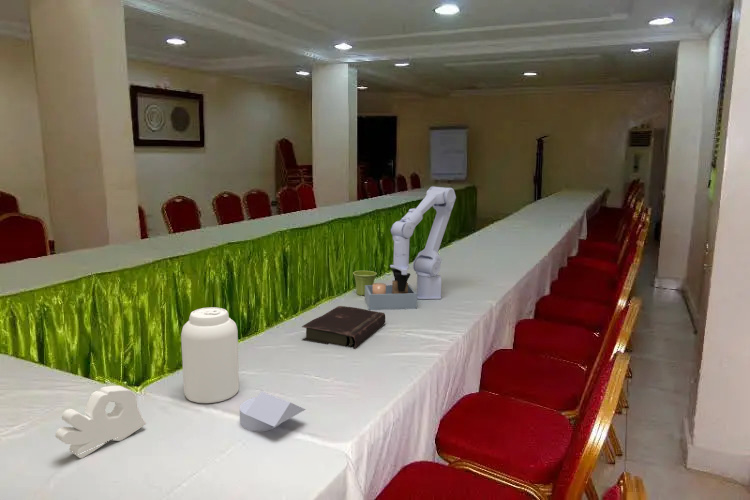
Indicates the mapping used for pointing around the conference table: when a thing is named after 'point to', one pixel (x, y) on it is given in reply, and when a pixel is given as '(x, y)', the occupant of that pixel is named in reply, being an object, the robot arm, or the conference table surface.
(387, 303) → the box
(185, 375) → the can
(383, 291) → the terracotta cylinder
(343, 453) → the conference table surface
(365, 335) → the diary
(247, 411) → the wedge on round base
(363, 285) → the plant pot
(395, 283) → the walnut cube
